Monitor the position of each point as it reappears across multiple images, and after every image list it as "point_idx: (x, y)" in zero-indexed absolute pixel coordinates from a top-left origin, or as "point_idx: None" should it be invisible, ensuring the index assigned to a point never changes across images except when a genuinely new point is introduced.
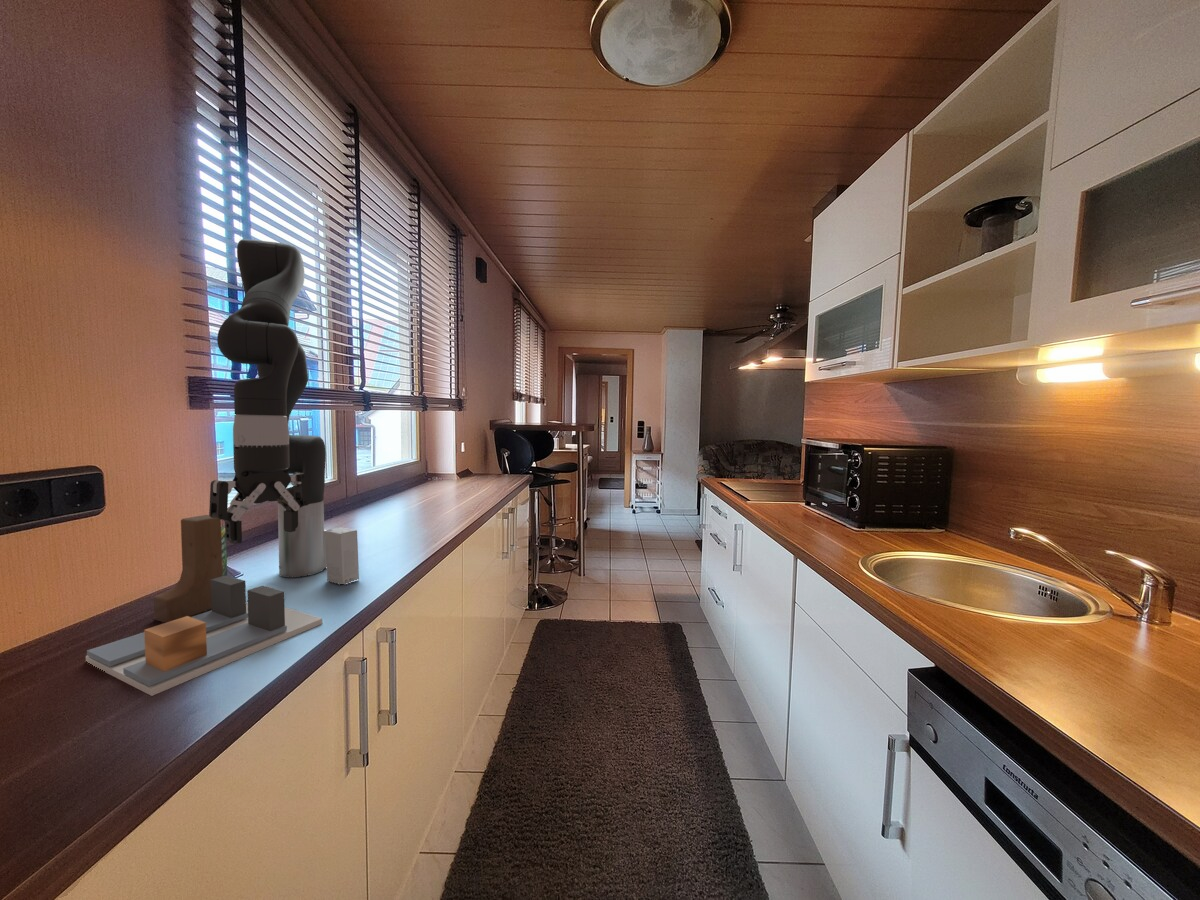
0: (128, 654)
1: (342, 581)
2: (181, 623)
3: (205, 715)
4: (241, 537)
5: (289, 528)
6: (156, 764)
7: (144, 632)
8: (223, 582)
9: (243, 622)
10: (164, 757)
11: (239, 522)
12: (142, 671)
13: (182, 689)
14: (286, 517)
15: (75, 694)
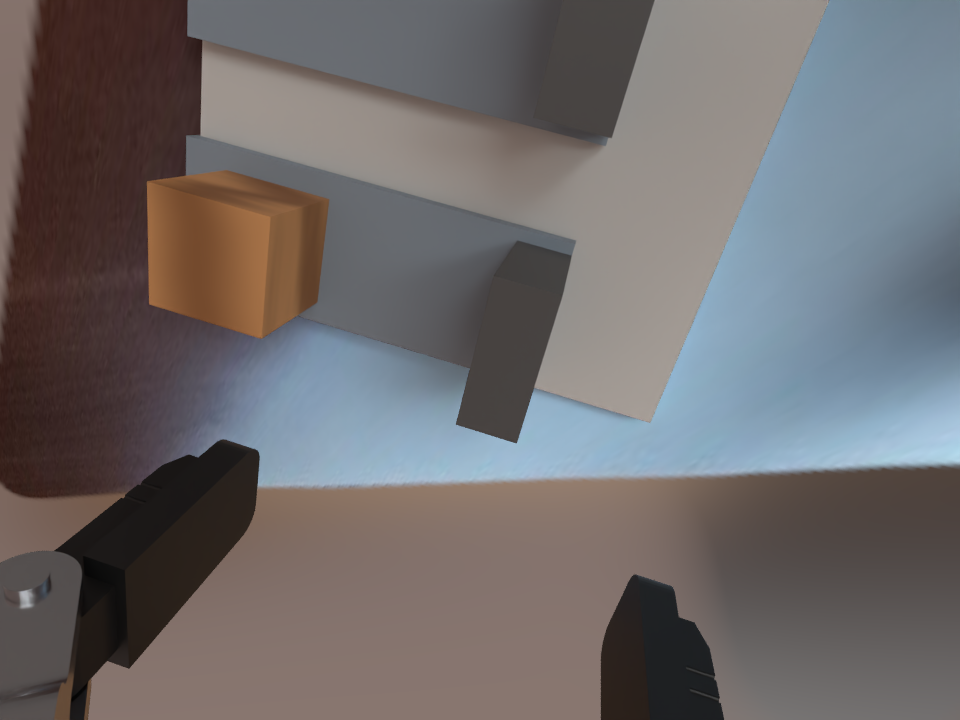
0: (232, 44)
1: None
2: (224, 263)
3: None
4: (224, 552)
5: (610, 647)
6: (122, 477)
7: (154, 181)
8: (563, 28)
9: (570, 159)
10: (134, 475)
11: (121, 653)
12: None
13: None
14: (629, 714)
15: (136, 70)
